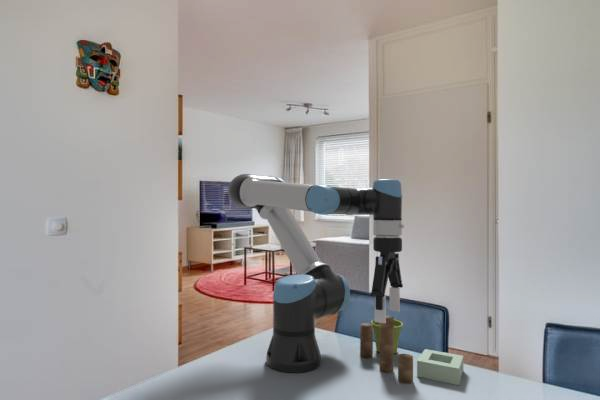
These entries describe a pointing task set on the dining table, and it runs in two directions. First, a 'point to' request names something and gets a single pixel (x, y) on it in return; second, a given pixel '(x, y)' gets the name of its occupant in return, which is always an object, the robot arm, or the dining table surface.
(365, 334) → the peg medium
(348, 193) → the robot arm
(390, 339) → the peg long
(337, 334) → the dining table surface
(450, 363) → the hole block
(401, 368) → the peg short
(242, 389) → the dining table surface
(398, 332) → the plant pot
